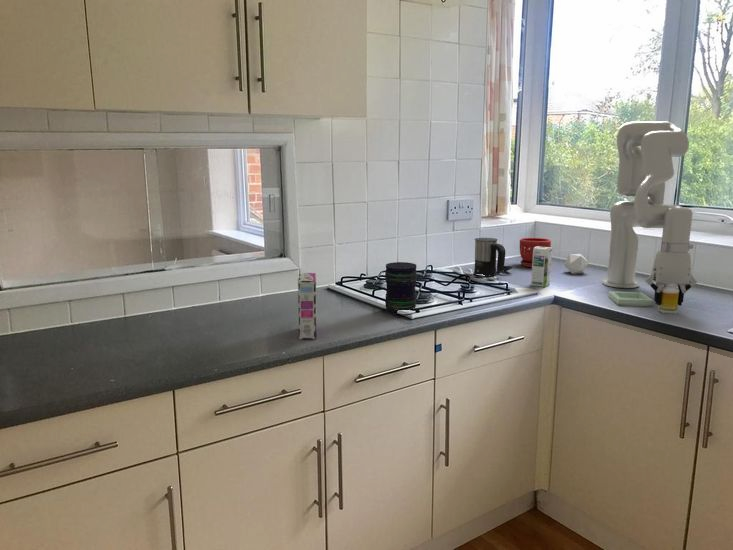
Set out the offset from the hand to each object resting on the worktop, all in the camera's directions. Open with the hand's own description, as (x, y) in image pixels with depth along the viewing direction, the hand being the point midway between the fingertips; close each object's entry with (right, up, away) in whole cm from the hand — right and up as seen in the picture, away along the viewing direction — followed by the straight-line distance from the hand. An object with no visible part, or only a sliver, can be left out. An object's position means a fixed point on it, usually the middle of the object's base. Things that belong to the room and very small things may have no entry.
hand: (668, 303), depth 181 cm
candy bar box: (-112, -8, -20) cm, 114 cm away
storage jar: (-85, -3, +2) cm, 85 cm away
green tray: (-7, 0, +12) cm, 14 cm away
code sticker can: (0, -2, +1) cm, 2 cm away
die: (-9, +10, +57) cm, 58 cm away
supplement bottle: (0, -3, +1) cm, 3 cm away
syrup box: (-30, +5, +36) cm, 47 cm away
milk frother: (-43, +9, +55) cm, 71 cm away
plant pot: (-22, +13, +71) cm, 76 cm away
